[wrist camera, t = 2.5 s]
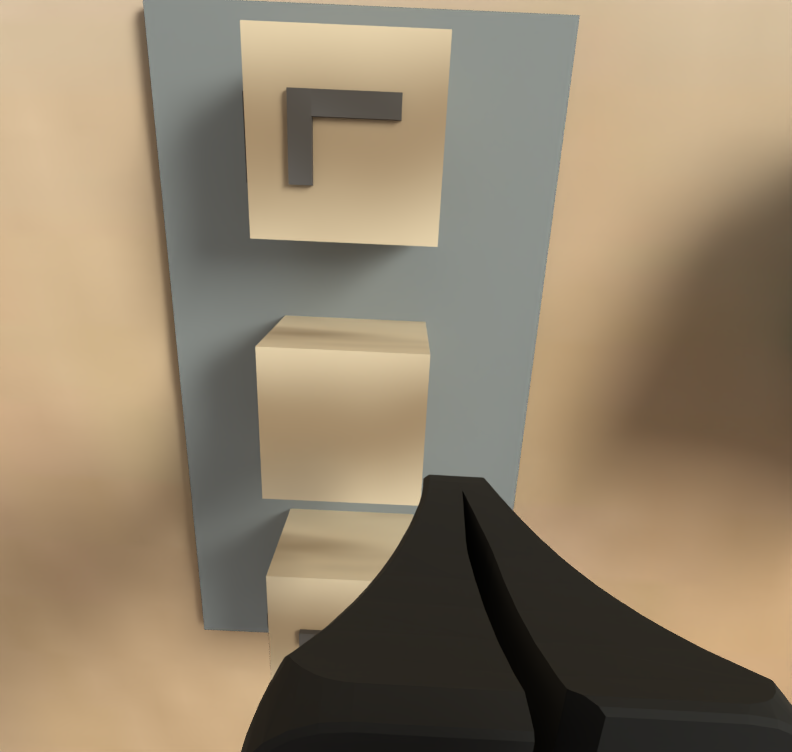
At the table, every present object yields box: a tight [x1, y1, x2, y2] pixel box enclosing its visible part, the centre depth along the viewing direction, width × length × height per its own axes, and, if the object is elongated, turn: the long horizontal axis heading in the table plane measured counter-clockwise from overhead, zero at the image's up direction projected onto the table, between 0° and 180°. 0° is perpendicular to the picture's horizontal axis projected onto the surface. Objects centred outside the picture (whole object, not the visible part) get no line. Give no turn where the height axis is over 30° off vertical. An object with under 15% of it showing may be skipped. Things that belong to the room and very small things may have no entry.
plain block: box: [255, 315, 430, 506], centre depth 18 cm, size 5×5×4 cm
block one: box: [266, 509, 414, 680], centre depth 20 cm, size 5×5×4 cm
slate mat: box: [143, 0, 580, 633], centre depth 20 cm, size 24×13×1 cm, turn 178°
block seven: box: [240, 20, 452, 247], centre depth 15 cm, size 5×5×4 cm
